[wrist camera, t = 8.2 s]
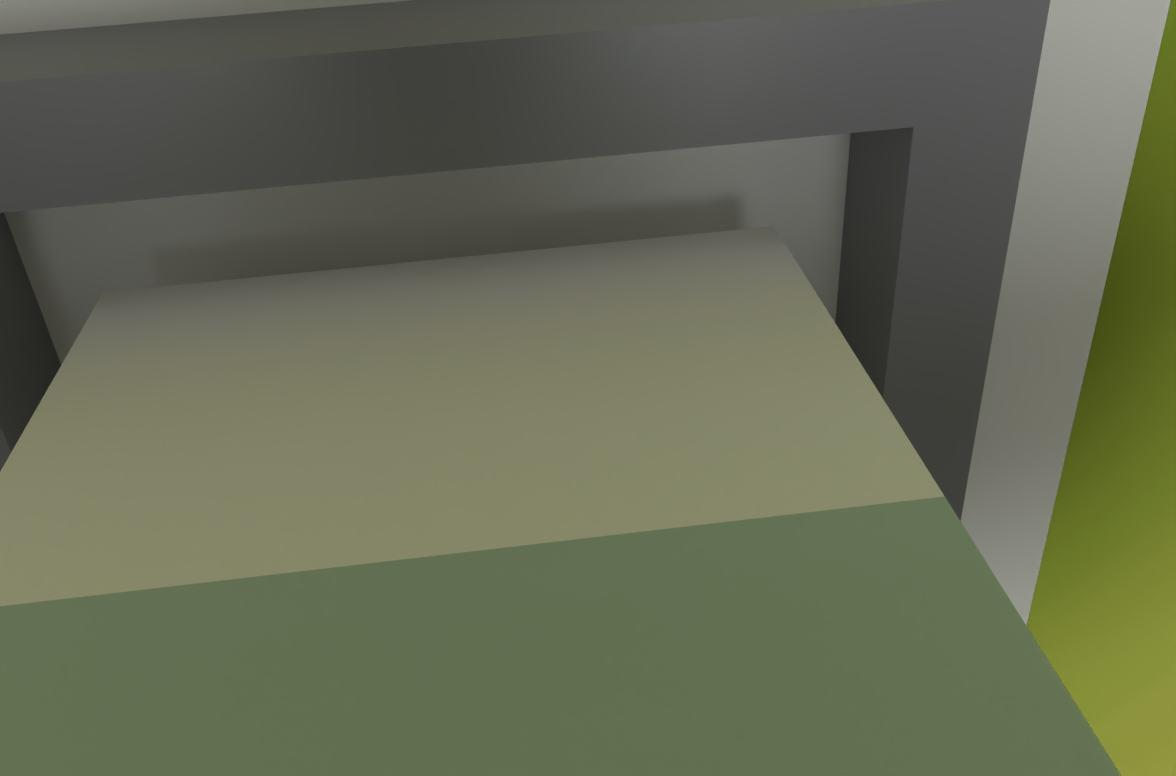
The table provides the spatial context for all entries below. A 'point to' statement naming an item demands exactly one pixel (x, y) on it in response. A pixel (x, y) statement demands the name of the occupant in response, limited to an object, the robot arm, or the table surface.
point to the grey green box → (500, 537)
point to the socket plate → (609, 175)
